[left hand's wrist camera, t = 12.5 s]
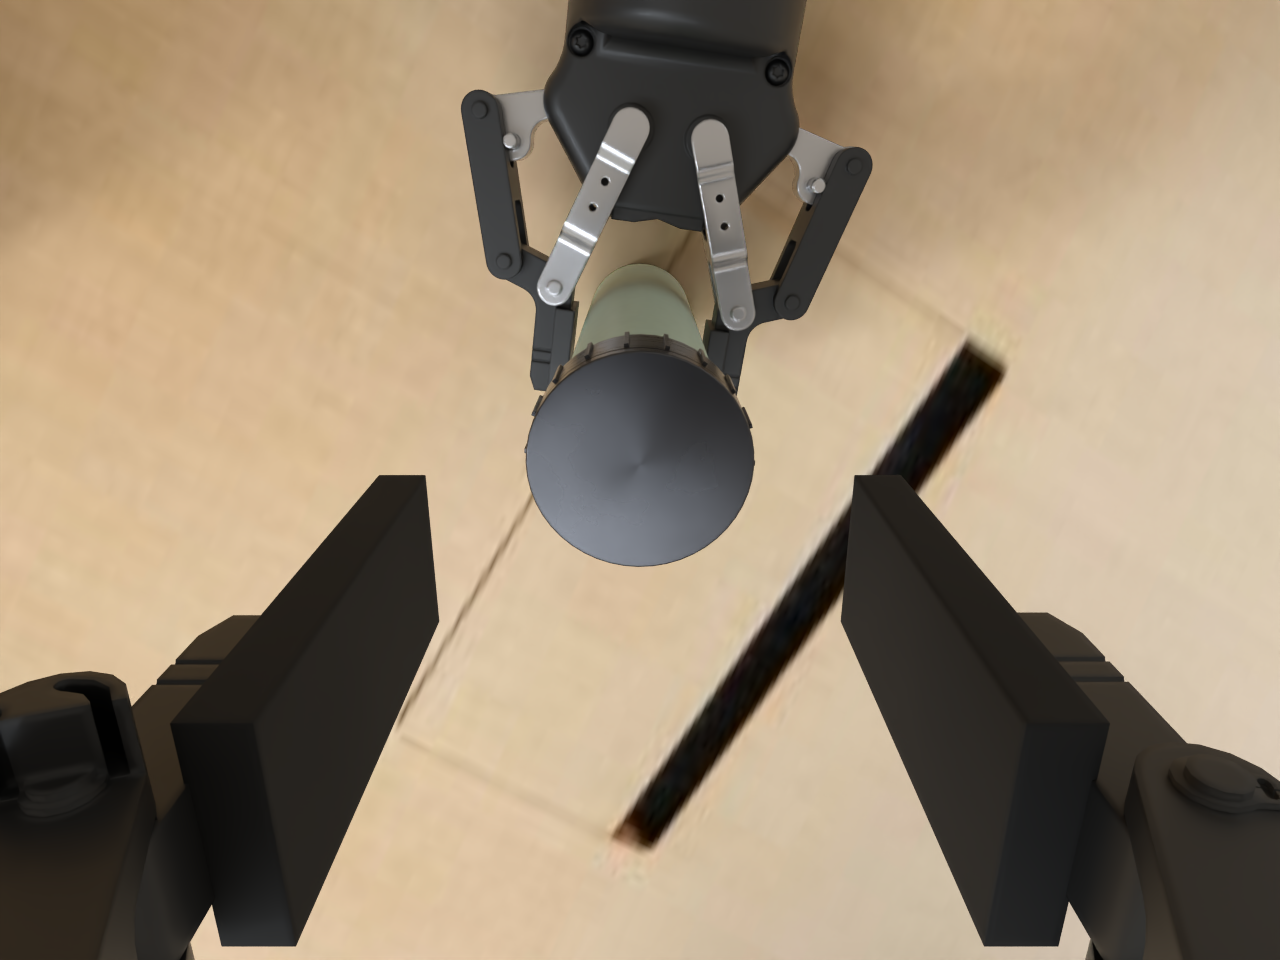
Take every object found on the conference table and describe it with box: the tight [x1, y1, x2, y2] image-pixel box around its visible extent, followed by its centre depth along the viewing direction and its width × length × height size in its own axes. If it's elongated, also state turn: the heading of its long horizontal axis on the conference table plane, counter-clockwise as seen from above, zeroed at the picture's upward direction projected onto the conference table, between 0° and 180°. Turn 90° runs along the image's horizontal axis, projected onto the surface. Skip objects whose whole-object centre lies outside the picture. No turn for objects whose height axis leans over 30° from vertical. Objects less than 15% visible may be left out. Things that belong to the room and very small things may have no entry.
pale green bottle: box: [572, 264, 708, 358], centre depth 28 cm, size 4×4×19 cm
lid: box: [525, 331, 755, 567], centre depth 19 cm, size 5×5×2 cm
